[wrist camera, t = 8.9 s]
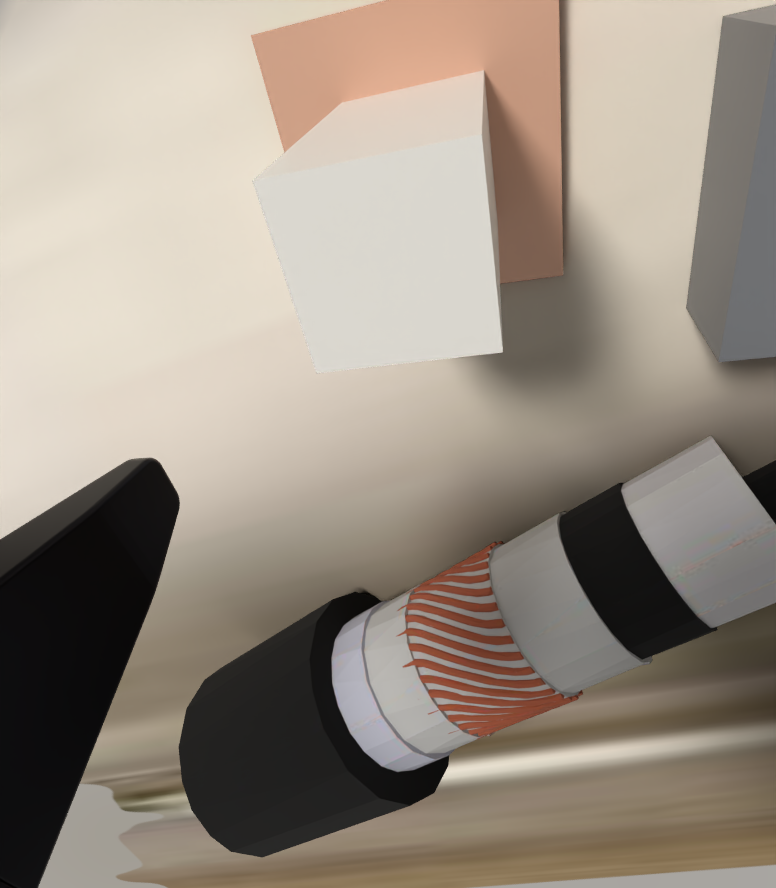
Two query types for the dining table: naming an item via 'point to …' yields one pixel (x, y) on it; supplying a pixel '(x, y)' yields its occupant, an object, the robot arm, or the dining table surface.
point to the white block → (391, 228)
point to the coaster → (436, 58)
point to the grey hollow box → (739, 196)
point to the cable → (471, 652)
